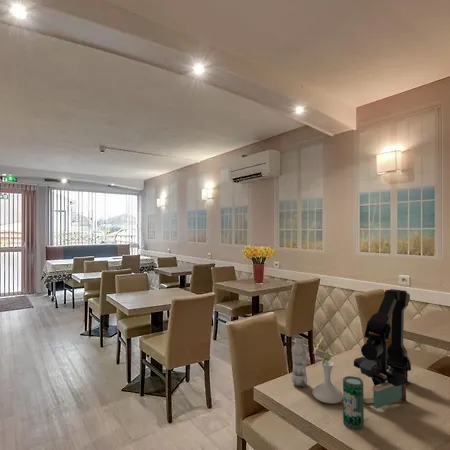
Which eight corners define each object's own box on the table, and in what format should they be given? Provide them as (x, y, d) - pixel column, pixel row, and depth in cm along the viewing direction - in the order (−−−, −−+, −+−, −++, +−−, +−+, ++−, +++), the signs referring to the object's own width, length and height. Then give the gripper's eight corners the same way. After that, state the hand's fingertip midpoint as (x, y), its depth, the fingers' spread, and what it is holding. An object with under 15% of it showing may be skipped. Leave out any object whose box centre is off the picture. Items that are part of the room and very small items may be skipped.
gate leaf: (397, 396, 123) (397, 377, 123) (402, 398, 121) (402, 379, 121) (372, 406, 116) (372, 386, 116) (377, 409, 114) (377, 388, 114)
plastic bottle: (305, 381, 138) (305, 335, 138) (308, 389, 131) (308, 340, 131) (290, 380, 139) (290, 334, 139) (292, 388, 132) (292, 340, 132)
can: (340, 423, 108) (340, 379, 108) (350, 417, 112) (349, 374, 112) (356, 432, 103) (356, 386, 103) (366, 425, 107) (366, 381, 107)
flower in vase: (321, 388, 132) (321, 328, 132) (348, 398, 124) (347, 334, 124) (304, 400, 123) (304, 335, 123) (332, 412, 115) (331, 343, 115)
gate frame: (402, 398, 124) (402, 375, 124) (408, 402, 121) (408, 379, 121) (355, 400, 123) (354, 377, 123) (359, 404, 120) (358, 381, 120)
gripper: (344, 347, 126) (343, 386, 126) (388, 366, 109) (387, 411, 109) (363, 342, 131) (362, 380, 131) (407, 360, 114) (406, 403, 115)
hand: (378, 392), depth 121 cm, fingers closed
